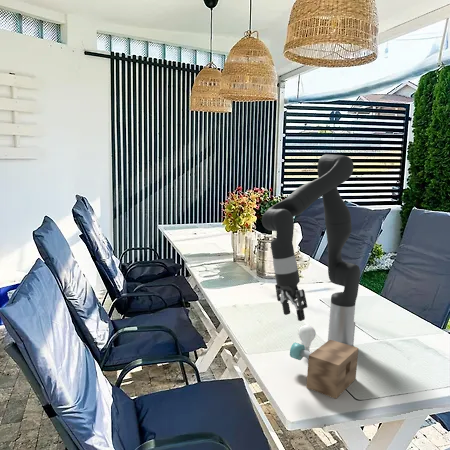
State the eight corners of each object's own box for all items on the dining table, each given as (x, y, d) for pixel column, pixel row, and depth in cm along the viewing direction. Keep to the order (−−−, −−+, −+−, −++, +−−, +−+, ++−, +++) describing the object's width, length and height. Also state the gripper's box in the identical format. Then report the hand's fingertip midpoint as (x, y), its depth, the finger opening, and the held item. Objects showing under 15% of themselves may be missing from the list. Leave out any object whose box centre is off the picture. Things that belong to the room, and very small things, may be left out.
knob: (289, 359, 151) (290, 345, 150) (296, 354, 155) (297, 340, 154) (330, 374, 142) (331, 358, 141) (337, 368, 146) (338, 353, 145)
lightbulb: (312, 349, 169) (314, 322, 167) (315, 357, 163) (318, 328, 161) (295, 349, 169) (297, 321, 167) (298, 357, 163) (300, 328, 161)
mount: (301, 385, 143) (303, 353, 141) (322, 367, 155) (325, 338, 153) (336, 398, 136) (338, 365, 134) (355, 379, 148) (358, 347, 146)
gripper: (308, 269, 138) (316, 318, 141) (284, 263, 151) (291, 308, 154) (288, 276, 136) (296, 326, 138) (265, 269, 149) (273, 315, 151)
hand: (294, 317), depth 146 cm, fingers open, 8 cm apart
